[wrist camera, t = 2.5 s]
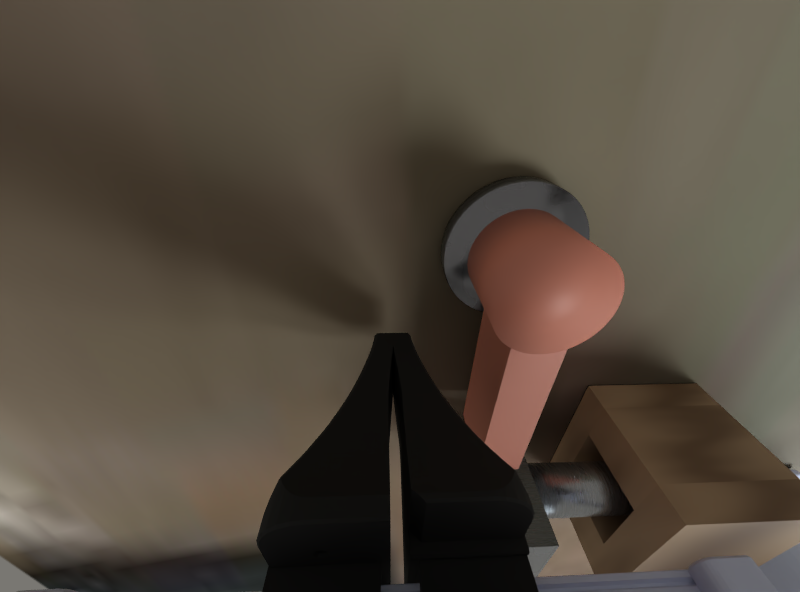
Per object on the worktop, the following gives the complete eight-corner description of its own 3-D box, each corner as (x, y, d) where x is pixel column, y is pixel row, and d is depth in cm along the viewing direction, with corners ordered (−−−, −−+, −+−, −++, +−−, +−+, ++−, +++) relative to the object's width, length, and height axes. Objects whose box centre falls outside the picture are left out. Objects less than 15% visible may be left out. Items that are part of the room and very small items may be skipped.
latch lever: (583, 209, 10) (647, 246, 8) (515, 411, 16) (539, 470, 13) (475, 208, 10) (505, 246, 8) (444, 412, 16) (456, 473, 13)
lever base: (598, 176, 11) (612, 182, 10) (554, 302, 14) (563, 313, 13) (447, 175, 10) (452, 181, 10) (435, 303, 13) (438, 315, 13)
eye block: (696, 383, 17) (842, 518, 11) (633, 464, 21) (718, 589, 16) (588, 385, 17) (686, 525, 11) (547, 467, 21) (604, 596, 16)
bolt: (666, 413, 18) (774, 535, 13) (636, 453, 20) (718, 571, 15) (466, 419, 17) (498, 548, 12) (457, 460, 19) (482, 583, 14)
